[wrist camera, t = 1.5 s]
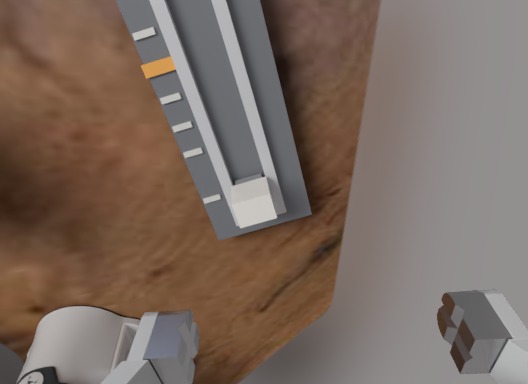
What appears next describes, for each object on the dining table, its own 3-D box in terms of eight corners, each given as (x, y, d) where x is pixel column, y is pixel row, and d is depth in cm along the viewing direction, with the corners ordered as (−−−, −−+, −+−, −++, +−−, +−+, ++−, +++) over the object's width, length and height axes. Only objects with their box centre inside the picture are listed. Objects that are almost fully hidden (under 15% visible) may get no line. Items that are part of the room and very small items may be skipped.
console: (307, 202, 44) (313, 218, 40) (218, 227, 45) (217, 245, 41) (237, -78, 29) (239, -90, 26) (107, -35, 30) (91, -41, 27)
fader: (271, 194, 39) (277, 218, 35) (238, 203, 39) (240, 228, 35) (264, 171, 38) (269, 193, 33) (231, 181, 38) (231, 204, 33)
